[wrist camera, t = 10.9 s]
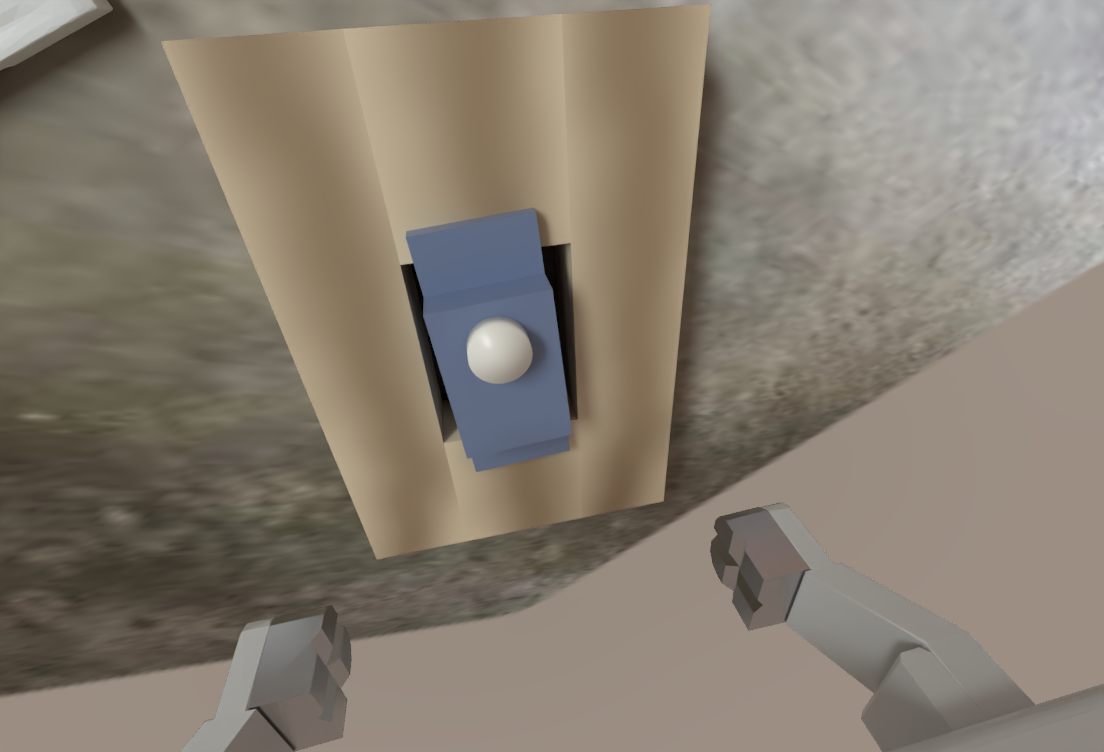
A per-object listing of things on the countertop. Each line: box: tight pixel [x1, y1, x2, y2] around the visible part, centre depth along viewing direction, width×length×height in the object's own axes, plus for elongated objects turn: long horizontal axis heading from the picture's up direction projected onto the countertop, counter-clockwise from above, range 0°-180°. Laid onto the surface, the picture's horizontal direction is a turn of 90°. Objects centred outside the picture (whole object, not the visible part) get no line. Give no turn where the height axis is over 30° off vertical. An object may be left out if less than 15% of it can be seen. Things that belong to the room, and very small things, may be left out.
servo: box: [406, 208, 572, 472], centre depth 19 cm, size 4×10×6 cm, turn 7°
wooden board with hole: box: [161, 4, 711, 559], centre depth 20 cm, size 14×20×3 cm
